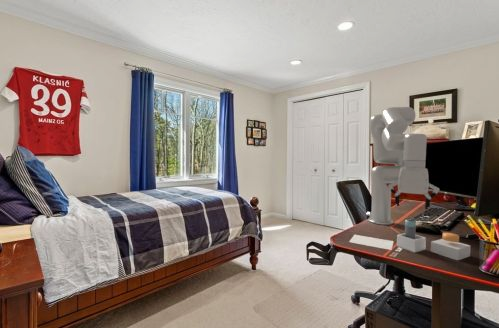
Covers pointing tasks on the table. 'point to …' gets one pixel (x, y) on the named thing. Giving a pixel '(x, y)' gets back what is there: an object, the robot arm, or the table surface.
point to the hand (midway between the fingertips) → (411, 207)
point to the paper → (372, 242)
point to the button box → (450, 249)
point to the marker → (410, 228)
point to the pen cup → (411, 243)
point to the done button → (450, 237)
